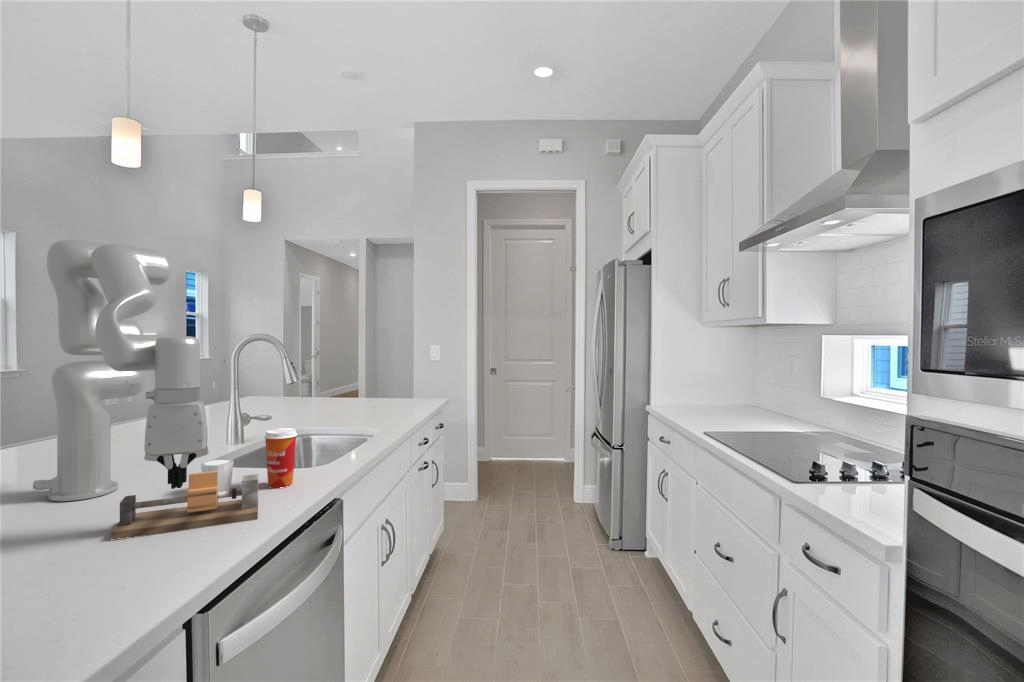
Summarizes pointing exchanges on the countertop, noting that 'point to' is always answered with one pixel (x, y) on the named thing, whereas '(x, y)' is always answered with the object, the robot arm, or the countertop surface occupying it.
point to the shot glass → (220, 472)
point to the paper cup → (280, 456)
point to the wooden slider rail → (179, 518)
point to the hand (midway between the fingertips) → (177, 486)
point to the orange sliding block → (202, 491)
